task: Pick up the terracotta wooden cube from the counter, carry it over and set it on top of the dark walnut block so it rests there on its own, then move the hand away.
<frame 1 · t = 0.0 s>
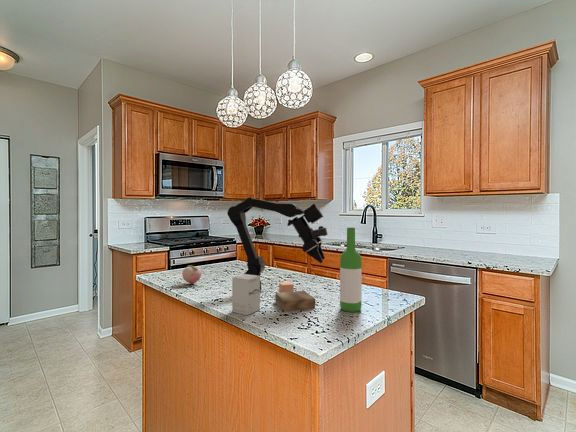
hand: (322, 260, 135), 15 cm above the countertop, tool tilted 35°, fingers open, 9 cm apart
terracotta cube: (286, 294, 137), on the countertop
walnut block: (294, 306, 123), on the countertop
wine bottle: (350, 309, 117), on the countertop
decorative fruit: (191, 284, 156), on the countertop
supplement box: (246, 311, 115), on the countertop
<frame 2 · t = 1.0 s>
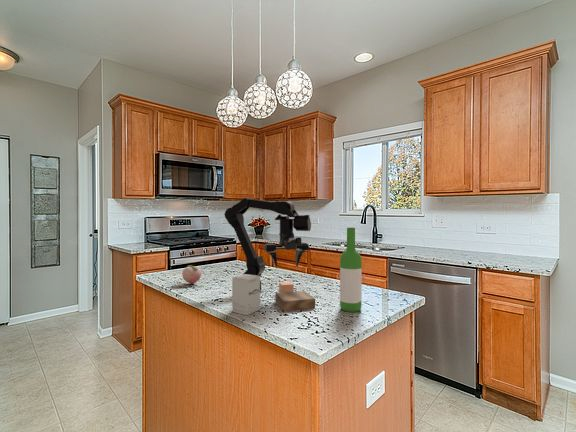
hand: (286, 267, 137), 12 cm above the countertop, tool pointing down, fingers open, 9 cm apart
nothing on the countertop moved.
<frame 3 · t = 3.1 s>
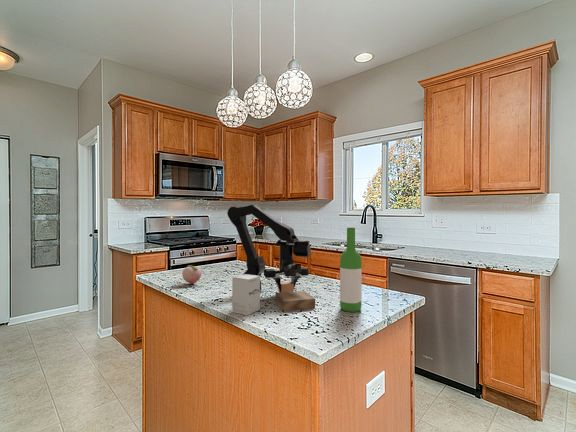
hand: (286, 292, 137), 1 cm above the countertop, tool pointing down, fingers closed on terracotta cube, 5 cm apart
terracotta cube: (286, 294, 137), on the countertop, touching gripper
everything else where it was.
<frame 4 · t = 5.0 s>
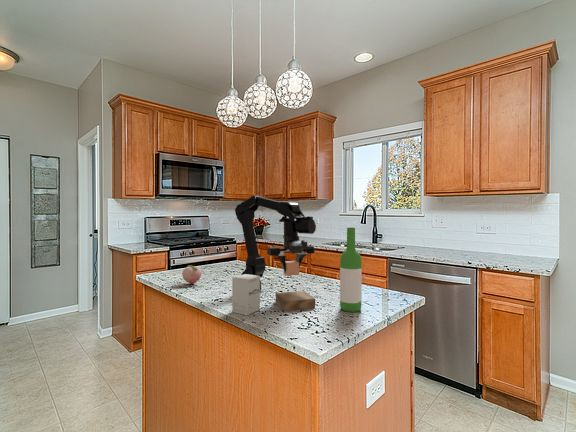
hand: (291, 271, 130), 11 cm above the countertop, tool pointing down, fingers closed on terracotta cube, 5 cm apart
terracotta cube: (291, 274, 130), point 10 cm above the countertop, touching gripper
everything else where it was.
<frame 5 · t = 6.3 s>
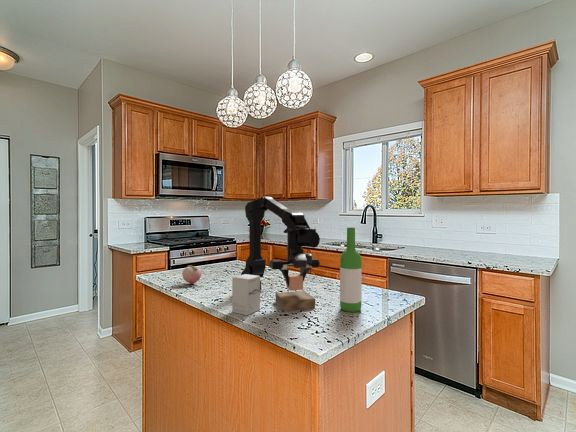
hand: (294, 285, 123), 7 cm above the countertop, tool pointing down, fingers closed on terracotta cube, 5 cm apart
terracotta cube: (294, 288, 123), point 6 cm above the countertop, touching gripper
everything else where it was.
when the fingers open (6 cm above the countertop, at t = 7.3 s): terracotta cube drops 2 cm, resting on walnut block.
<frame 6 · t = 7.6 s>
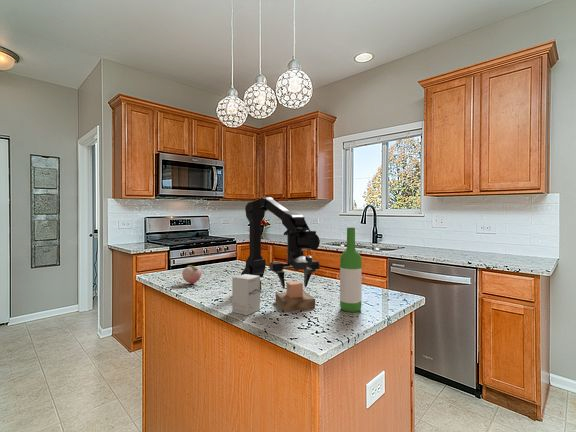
hand: (294, 288, 123), 6 cm above the countertop, tool pointing down, fingers open, 8 cm apart
terracotta cube: (294, 295, 123), point 3 cm above the countertop, touching walnut block
walnut block: (294, 306, 123), on the countertop, touching terracotta cube
everything else where it was.
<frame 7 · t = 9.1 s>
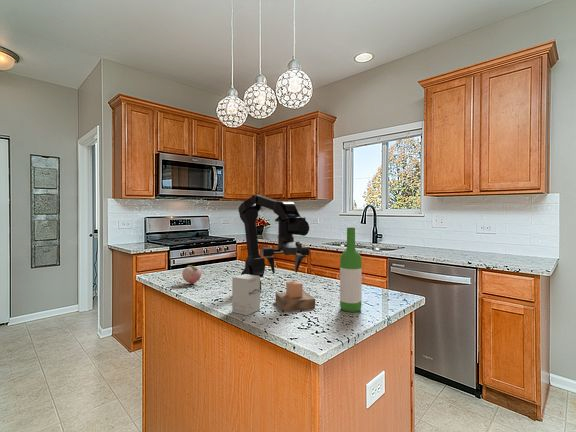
hand: (284, 273, 126), 12 cm above the countertop, tool pointing down, fingers open, 9 cm apart
terracotta cube: (294, 295, 123), point 4 cm above the countertop
walnut block: (294, 306, 123), on the countertop
everything else where it was.
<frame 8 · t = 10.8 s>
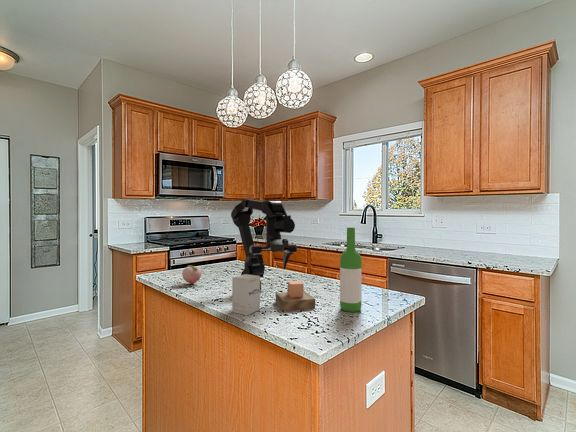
hand: (273, 269, 130), 12 cm above the countertop, tool pointing down, fingers open, 9 cm apart
terracotta cube: (295, 295, 123), point 3 cm above the countertop, touching walnut block
walnut block: (294, 306, 123), on the countertop, touching terracotta cube
everything else where it was.
at the end: terracotta cube inside the target area on the walnut block (0.7 cm from its centre), point 4.0 cm above the walnut block's base; terracotta cube tilted 0°; the gripper is holding nothing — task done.
